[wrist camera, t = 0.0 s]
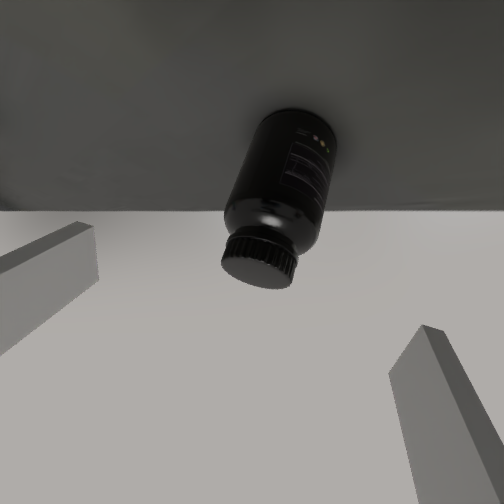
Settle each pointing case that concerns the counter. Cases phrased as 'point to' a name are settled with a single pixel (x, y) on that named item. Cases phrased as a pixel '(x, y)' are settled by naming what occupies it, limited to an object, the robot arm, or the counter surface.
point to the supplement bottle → (278, 199)
